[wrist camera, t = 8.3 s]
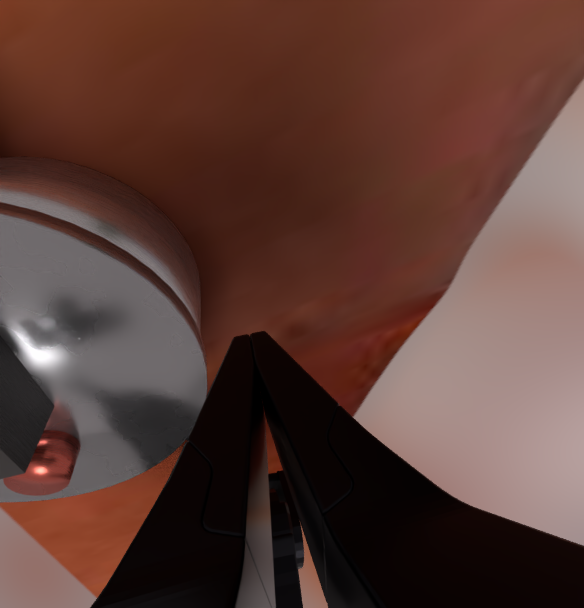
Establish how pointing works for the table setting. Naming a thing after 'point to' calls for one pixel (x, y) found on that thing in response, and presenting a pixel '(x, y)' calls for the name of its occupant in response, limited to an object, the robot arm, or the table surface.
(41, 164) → the cooker pot
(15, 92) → the table surface
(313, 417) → the robot arm
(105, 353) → the cooker lid
